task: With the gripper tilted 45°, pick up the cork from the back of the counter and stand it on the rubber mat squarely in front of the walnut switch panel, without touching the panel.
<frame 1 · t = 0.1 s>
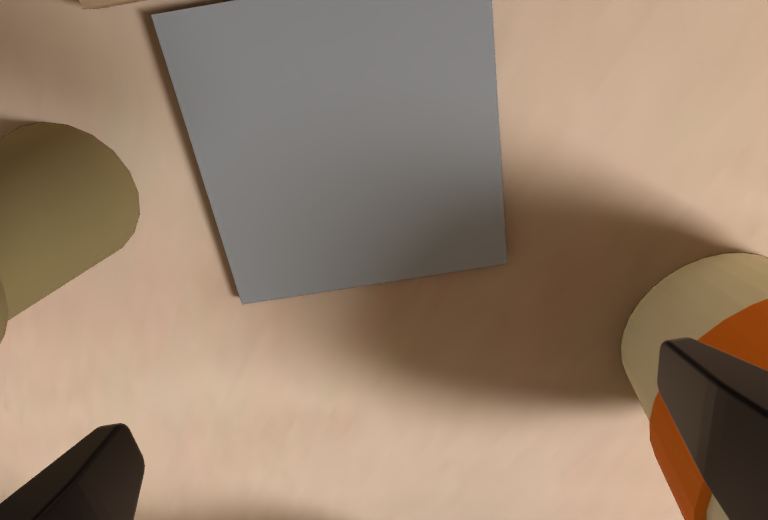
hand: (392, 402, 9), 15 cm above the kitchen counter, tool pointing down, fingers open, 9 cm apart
reusable coffee cup: (708, 331, 27), on the kitchen counter
mat: (349, 149, 22), on the kitchen counter
cork: (67, 194, 22), on the kitchen counter
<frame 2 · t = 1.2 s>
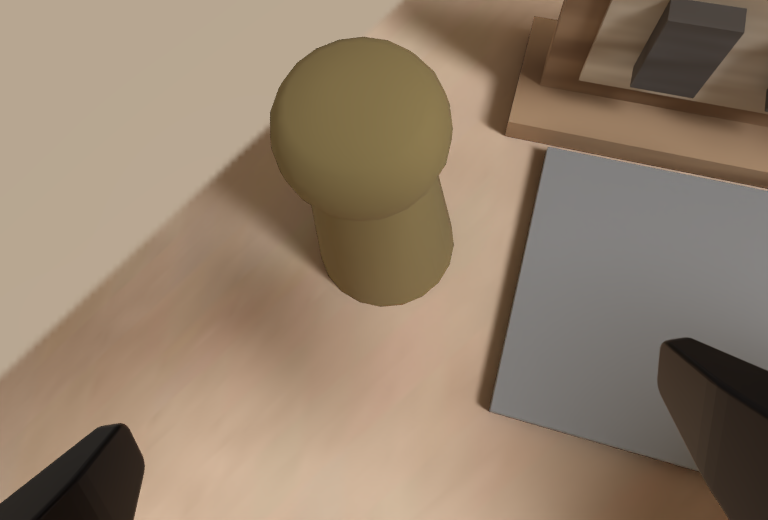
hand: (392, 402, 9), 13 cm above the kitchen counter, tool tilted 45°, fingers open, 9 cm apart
mat: (663, 308, 22), on the kitchen counter
switch panel: (689, 114, 25), on the kitchen counter
cork: (386, 242, 24), on the kitchen counter
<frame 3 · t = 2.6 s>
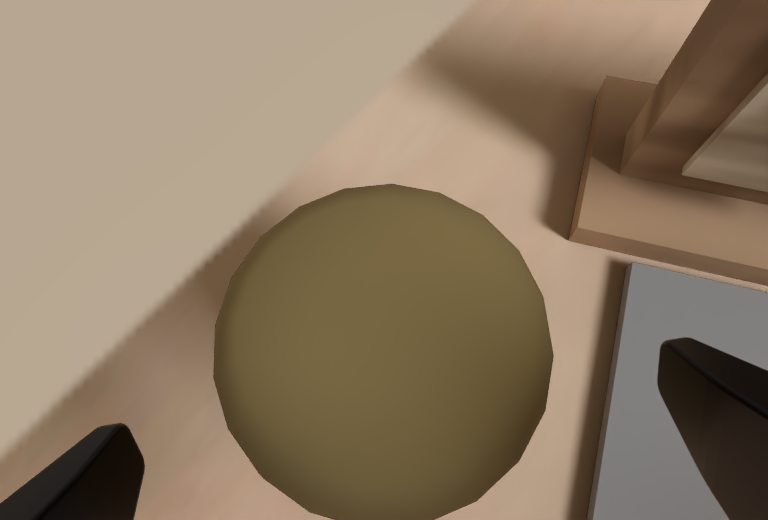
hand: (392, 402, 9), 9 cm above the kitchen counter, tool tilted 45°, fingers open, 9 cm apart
cork: (407, 395, 17), on the kitchen counter
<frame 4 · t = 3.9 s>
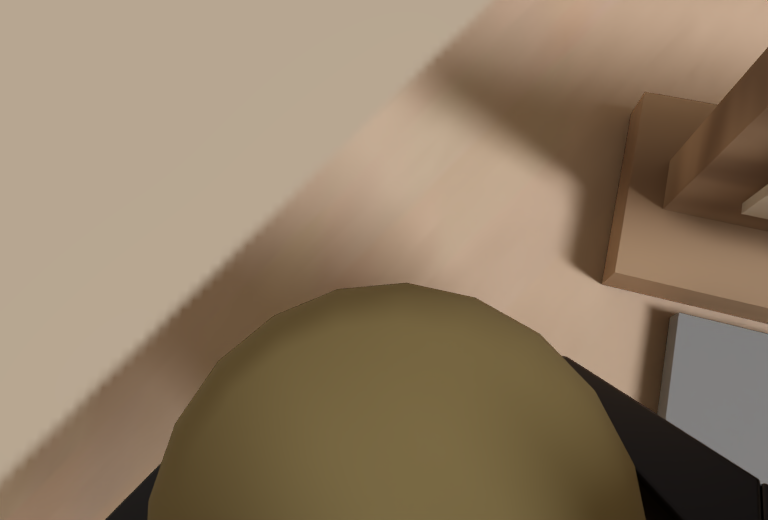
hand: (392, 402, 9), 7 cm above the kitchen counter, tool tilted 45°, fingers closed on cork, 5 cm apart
cork: (415, 468, 15), on the kitchen counter, touching gripper
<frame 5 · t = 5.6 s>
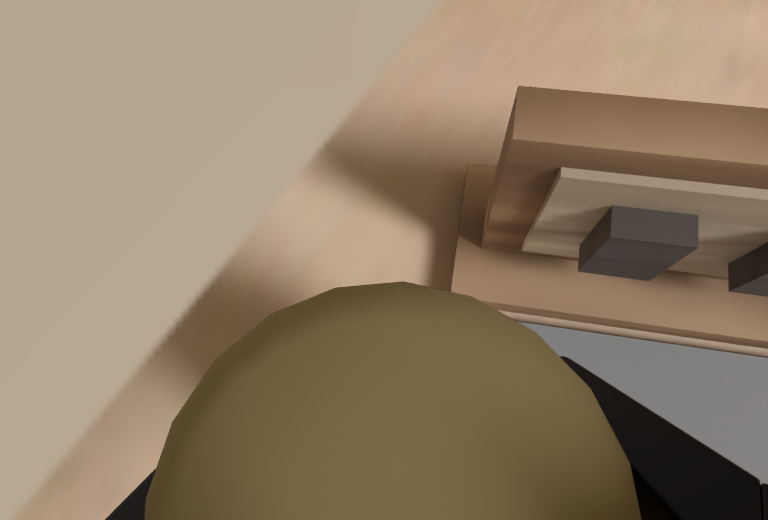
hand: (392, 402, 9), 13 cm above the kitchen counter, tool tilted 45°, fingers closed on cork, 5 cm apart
mat: (640, 502, 20), on the kitchen counter
switch panel: (647, 261, 23), on the kitchen counter
cork: (413, 466, 15), point 6 cm above the kitchen counter, touching gripper
when the fingers open (8 cm above the kitchen counter, at t = 7.7 s): cork drops 1 cm, resting on mat.
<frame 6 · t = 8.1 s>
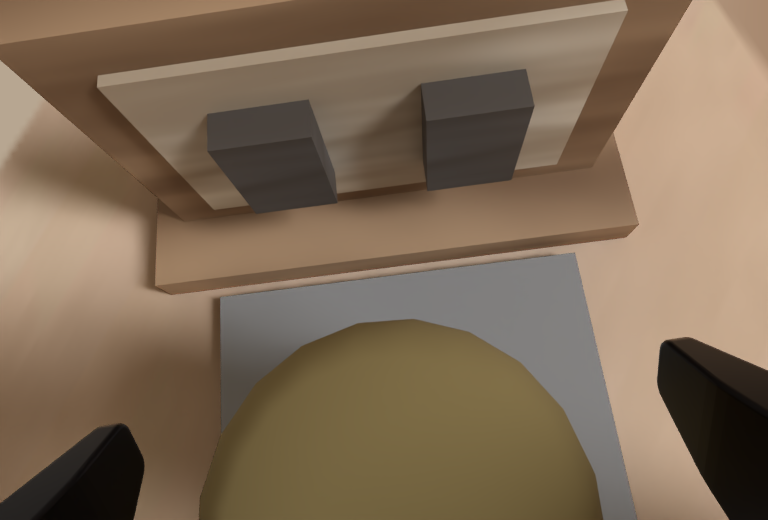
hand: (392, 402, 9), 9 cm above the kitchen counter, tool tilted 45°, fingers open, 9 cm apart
mat: (417, 464, 17), on the kitchen counter
switch panel: (385, 189, 20), on the kitchen counter
cork: (415, 469, 16), resting on mat
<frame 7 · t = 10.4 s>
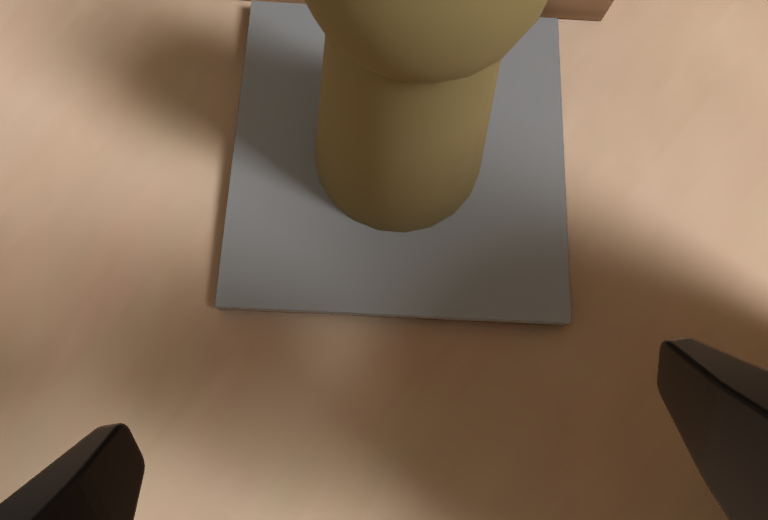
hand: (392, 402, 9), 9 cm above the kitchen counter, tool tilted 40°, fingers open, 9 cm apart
mat: (399, 157, 20), on the kitchen counter
cork: (397, 155, 20), resting on mat
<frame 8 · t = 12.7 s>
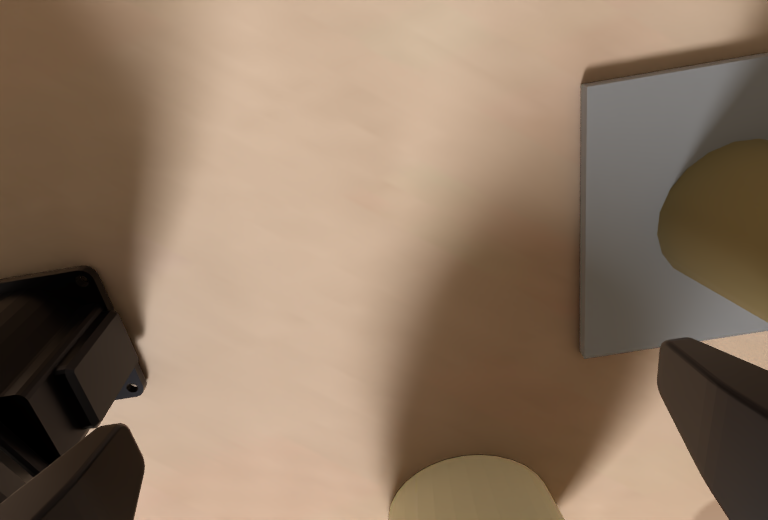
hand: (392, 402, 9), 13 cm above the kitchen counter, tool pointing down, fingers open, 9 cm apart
reusable coffee cup: (469, 511, 30), on the kitchen counter
mat: (726, 210, 22), on the kitchen counter
cork: (730, 212, 21), resting on mat
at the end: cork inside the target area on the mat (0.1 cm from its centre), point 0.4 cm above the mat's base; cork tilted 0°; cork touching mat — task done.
